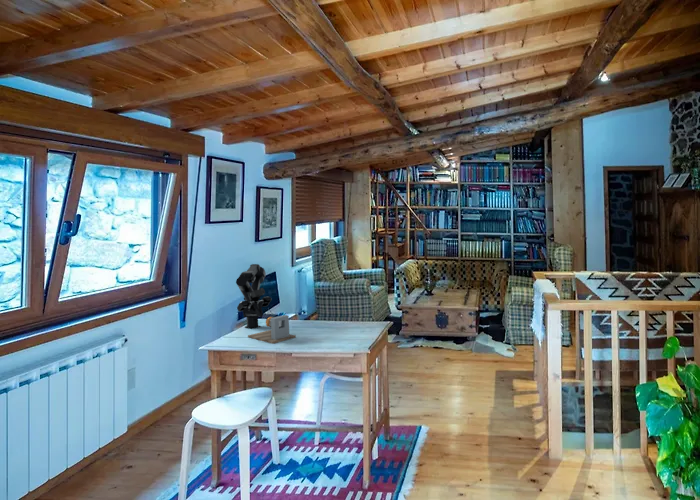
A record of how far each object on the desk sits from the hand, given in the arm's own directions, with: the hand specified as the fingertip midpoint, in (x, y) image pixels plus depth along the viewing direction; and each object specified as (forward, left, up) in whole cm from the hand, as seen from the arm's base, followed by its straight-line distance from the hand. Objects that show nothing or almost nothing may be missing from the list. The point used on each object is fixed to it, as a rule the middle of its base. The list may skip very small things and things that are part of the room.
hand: (261, 316), depth 258 cm
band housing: (+14, 0, -9) cm, 17 cm away
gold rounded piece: (+10, 0, -4) cm, 11 cm away
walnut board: (+7, 0, -10) cm, 12 cm away
